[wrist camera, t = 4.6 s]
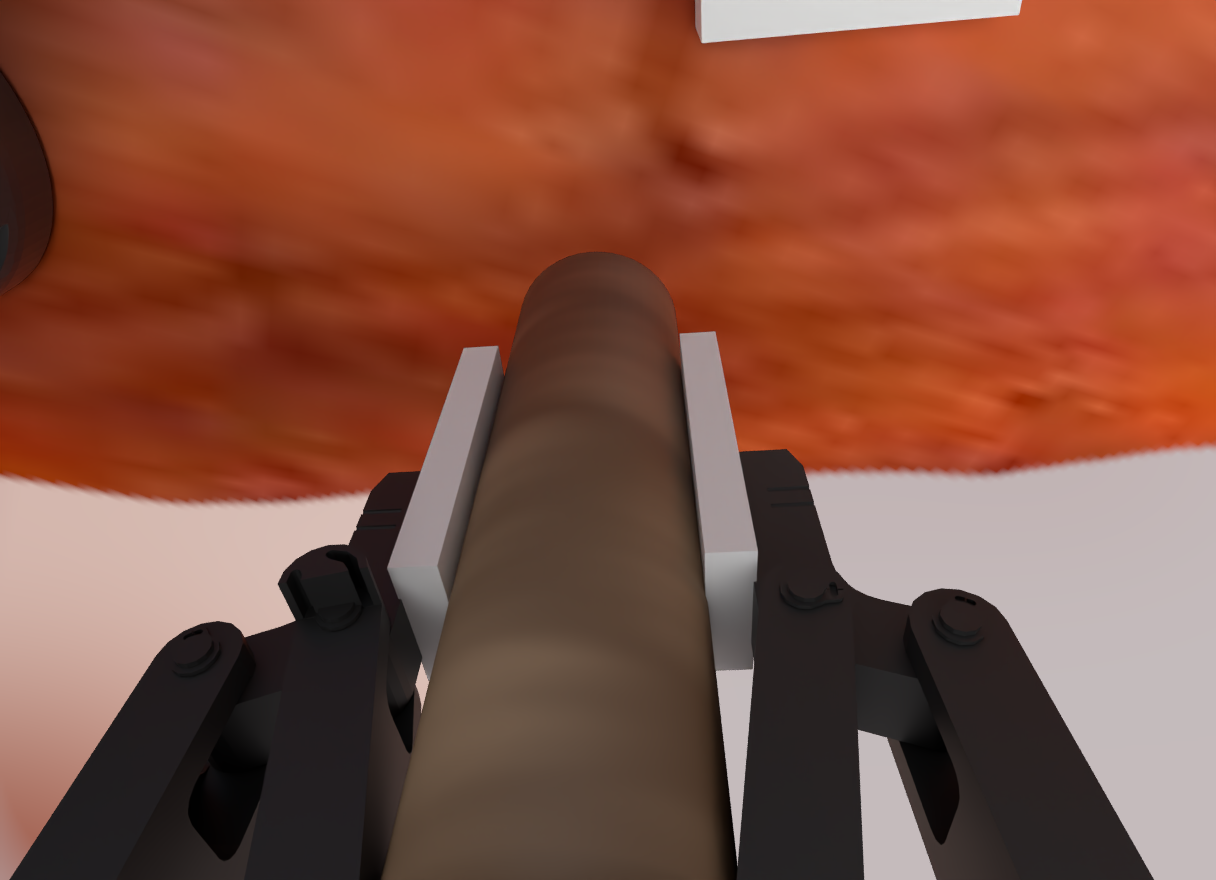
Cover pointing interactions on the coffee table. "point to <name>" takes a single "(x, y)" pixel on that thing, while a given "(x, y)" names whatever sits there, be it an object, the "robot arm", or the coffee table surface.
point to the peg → (577, 617)
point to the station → (831, 15)
